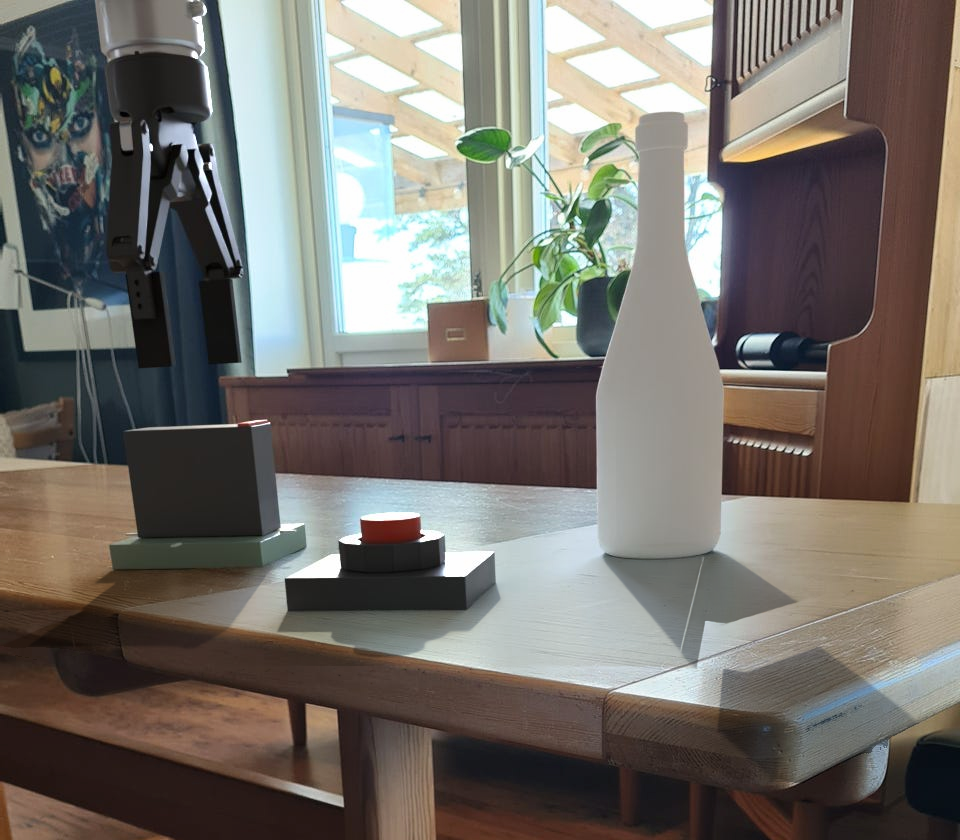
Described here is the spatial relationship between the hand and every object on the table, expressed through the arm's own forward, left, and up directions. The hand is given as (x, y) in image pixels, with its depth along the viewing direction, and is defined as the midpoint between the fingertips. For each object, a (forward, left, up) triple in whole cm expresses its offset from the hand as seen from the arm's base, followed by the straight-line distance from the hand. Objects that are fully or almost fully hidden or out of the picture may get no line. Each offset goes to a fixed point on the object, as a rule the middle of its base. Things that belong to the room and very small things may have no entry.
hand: (193, 366), depth 103 cm
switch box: (+24, -15, -15) cm, 32 cm away
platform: (0, 0, -15) cm, 15 cm away
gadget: (0, 0, -13) cm, 13 cm away
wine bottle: (+37, +6, -15) cm, 40 cm away
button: (+24, -15, -12) cm, 30 cm away
